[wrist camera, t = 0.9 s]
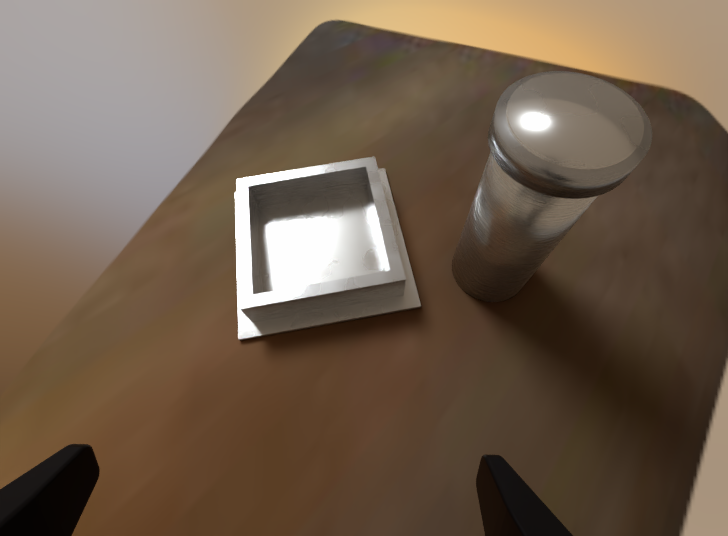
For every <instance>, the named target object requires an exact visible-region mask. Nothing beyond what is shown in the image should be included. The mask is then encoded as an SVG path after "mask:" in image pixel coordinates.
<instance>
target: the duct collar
mask: <svg viewBox="0 0 728 536" xmlns="http://www.w3.org/2000/svg"><path fill="white" fill-rule="evenodd" d="M236 184H237V193H235V217H236V259H237V301H238V339H239V340H240V341H241V340H247V339H252V338H258V337H263V336H269V335H274V334H280V333H285V332H291V331H296V330H302V329H307V328H312V327H318V326H323V325H329V324H334V323H340V322H345V321H351V320H356V319H362V318H367V317H373V316H378V315H384V314H389V313H395V312H400V311H406V310H411V309H417V308H421V304H420V300H419V296H418V292H417V288H416V285H415V281H414V277H413V273H412V270H411V266H410V262H409V258H408V254H407V251H406V247H405V243H404V239H403V236H402V232H401V228H400V224H399V220H398V217H397V213H396V209H395V205H394V202H393V198H392V194H391V190H390V186H389V183H388V179H387V175H386V171H385V168H383V169H378V167H377V163H376V159H375V157H369V158H362V159H356V160H350V161H344V162H338V163H332V164H326V165H320V166H313V167H307V168H301V169H295V170H289V171H283V172H277V173H271V174H265V175H258V176H252V177H246V178H240V179H236Z"/></svg>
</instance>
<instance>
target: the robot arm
mask: <svg viewBox="0 0 728 536" xmlns="http://www.w3.org/2000/svg"><path fill="white" fill-rule="evenodd" d="M98 477H99V466H98V463H97V460H96V457H95V454H94V452H93V449H92V447H91V446H90V445H88V444H71V445H68V446H66V447H64V448H63V449H61V450H60V451H58V452H57V453H55V454H54V455H52V456H51V457H49V458H48V459H46V460H45V461H43V462H41V463H40V464H38V465H37V466H35V467H34V468H32V469H31V470H29V471H28V472H26V473H25V474H23V475H22V476H20V477H19V478H17V479H15V480H14V481H12V482H11V483H9V484H8V485H6V486H5V487H3V488H2V489H0V536H72V533H73V531H74V529H75V527H76V525H77V523H78V521H79V519H80V516H81V514H82V512H83V510H84V508H85V506H86V504H87V502H88V499H89V497H90V495H91V493H92V491H93V489H94V487H95V485H96V482H97V480H98ZM476 487H477V493H478V499H479V504H480V510H481V515H482V521H483V526H484V531H485V536H573V535H572V534H571V533H570V532H569V531H568V530H567V529H566V527H565V526H564V525H563V524H562V523H561V522H560V521H559V520H558V519H557V517H556V516H555V515H554V514H553V513H552V512H551V511H550V510H549V509H548V507H547V506H546V505H545V504H544V503H543V502H542V501H541V500H540V499H539V497H538V496H537V495H536V494H535V493H534V492H533V491H532V490H531V488H530V487H529V486H528V485H527V484H526V483H525V482H524V481H523V480H522V478H521V477H520V476H519V475H518V474H517V473H516V472H515V471H514V470H513V468H512V467H511V466H510V465H509V464H508V463H507V462H506V461H505V460H504V458H503V457H501V456H499V455H483V456H482V458H481V461H480V465H479V470H478V474H477V478H476Z"/></svg>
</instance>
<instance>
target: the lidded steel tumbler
mask: <svg viewBox="0 0 728 536" xmlns="http://www.w3.org/2000/svg"><path fill="white" fill-rule="evenodd" d="M651 141H652V129H651V124H650V121H649V119H648V117H647V115H646V113H645V112H644V110H643V109H642V107H641V106H640V105H639V104H638V103H637V102H636V101H635V100H634V99H633V98H632V97H631V96H630V95H628V94H627V93H626V92H624V91H623V90H621V89H620V88H618V87H617V86H615V85H613V84H611V83H609V82H606V81H604V80H602V79H599V78H596V77H593V76H589V75H585V74H581V73H575V72H565V71H553V72H543V73H537V74H533V75H530V76H527V77H525V78H522V79H520V80H518V81H516V82H515V83H513V84H512V85H511V86H509V87H508V88H507V89H506V90H505V91H504V92H503V94H502V95H501V97H500V99H499V101H498V103H497V106H496V109H495V112H494V115H493V118H492V121H491V124H490V128H489V132H488V143H489V148H490V151H491V153H490V155H489V158H488V161H487V164H486V167H485V169H484V172H483V175H482V178H481V181H480V183H479V186H478V189H477V192H476V195H475V197H474V200H473V203H472V206H471V209H470V212H469V214H468V217H467V220H466V223H465V226H464V228H463V231H462V234H461V237H460V240H459V242H458V245H457V248H456V251H455V254H454V256H453V260H452V272H453V276H454V278H455V280H456V282H457V284H458V285H459V286H460V287H461V289H462V290H464V291H465V292H466V293H467V294H469V295H470V296H472V297H474V298H476V299H478V300H482V301H486V302H501V301H505V300H508V299H510V298H512V297H513V296H515V295H516V294H517V293H518V292H519V291H520V290H521V289H522V287H523V286H524V285H525V284H526V282H527V281H528V280H529V279H530V278H531V276H532V275H533V274H534V273H535V271H536V270H537V269H538V268H539V267H540V265H541V264H542V263H543V262H544V260H545V259H546V258H547V257H548V256H549V254H550V253H551V252H552V251H553V250H554V248H555V247H556V246H557V245H558V243H559V242H560V241H561V240H562V239H563V237H564V236H565V235H566V234H567V232H568V231H569V230H570V229H571V228H572V226H573V225H574V224H575V223H576V221H577V220H578V219H579V218H580V217H581V215H582V214H583V213H584V212H585V210H586V209H587V208H588V207H589V206H590V204H591V203H592V202H593V201H594V199H595V198H596V197H597V196H598V195H601V194H604V193H607V192H609V191H611V190H613V189H614V188H616V187H617V186H619V185H620V184H621V183H622V182H623V181H624V180H625V179H626V178H627V176H628V175H629V174H630V173H631V172H632V171H633V170H634V168H635V167H636V166H637V165H638V164H639V163H640V161H641V160H642V159H643V158H644V157H645V155H646V154H647V152H648V150H649V148H650V146H651Z"/></svg>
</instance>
